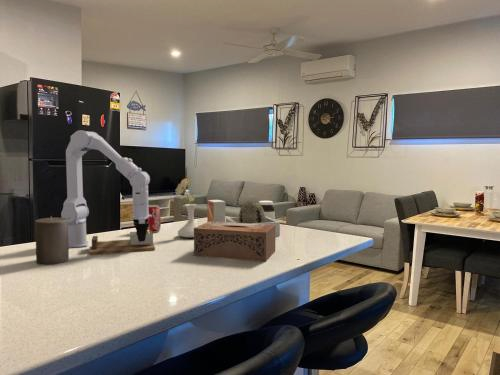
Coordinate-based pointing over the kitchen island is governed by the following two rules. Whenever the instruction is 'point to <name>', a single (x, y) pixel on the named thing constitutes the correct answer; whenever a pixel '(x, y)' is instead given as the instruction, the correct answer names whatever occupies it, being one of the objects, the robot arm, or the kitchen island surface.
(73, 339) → the kitchen island surface
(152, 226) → the soda can
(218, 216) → the small box
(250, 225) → the tissue box cover
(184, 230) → the flower in vase
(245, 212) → the decorative egg
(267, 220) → the egg stand tray
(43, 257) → the pillar candle
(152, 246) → the board
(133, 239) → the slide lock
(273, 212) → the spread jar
